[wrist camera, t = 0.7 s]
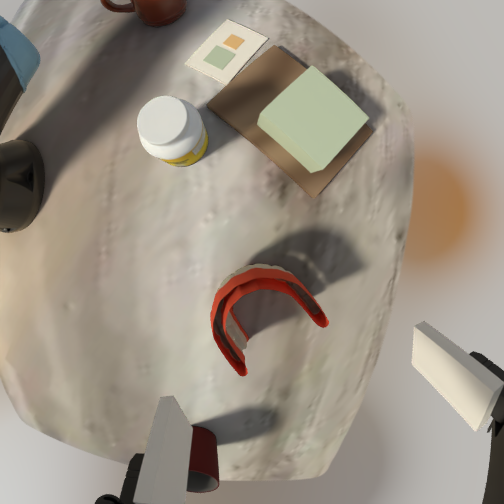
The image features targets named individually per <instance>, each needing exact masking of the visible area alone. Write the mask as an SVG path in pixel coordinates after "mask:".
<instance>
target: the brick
mask: <svg viewBox="0 0 504 504" xmlns="http://www.w3.org/2000/svg"><path fill="white" fill-rule="evenodd" d="M368 119H369V117H368V116H367V115H366V114H365V113H364V112H363V111H362V110H361V109H360V108H359V107H358V106H357V105H356V104H355V103H354V102H353V101H352V100H351V99H350V98H349V97H348V96H347V95H346V94H345V93H344V92H342V91H341V90H340V89H339V88H338V87H337V86H336V85H335V84H334V83H333V82H331V81H330V80H329V79H328V78H327V77H326V76H324V75H323V74H322V73H321V72H320V71H319V70H317V69H316V68H315V67H314V66H311V67H309V68H308V69H307V70H306V71H305V72H304V73H303V74H301V75H300V76H299V77H298V78H297V79H296V80H295V81H294V82H292V83H291V84H290V85H289V86H288V87H287V88H286V89H285V90H284V91H283V92H282V93H281V94H279V95H278V96H277V97H276V98H275V99H274V100H273V101H272V102H271V103H270V104H269V105H268V106H267V107H266V108H265V109H264V110H263V111H262V112H261V113H260V116H259V119H258V122H257V125H258V126H259V127H260V128H261V129H262V130H264V131H265V132H266V133H267V134H268V135H270V136H271V137H272V138H273V139H274V140H275V141H276V142H278V143H279V144H280V145H281V146H282V147H283V148H284V149H285V150H287V151H288V152H289V153H290V154H291V155H292V156H293V157H294V158H295V159H297V160H298V161H299V162H300V163H301V164H302V165H303V166H304V167H305V168H306V169H307V170H308V171H309V172H310V173H313V172H316V171H319V170H323V169H324V168H325V167H326V166H327V165H328V164H329V163H330V161H331V160H332V159H333V158H334V157H335V156H336V155H337V154H338V153H339V151H340V150H341V149H342V148H343V147H344V146H345V145H346V144H347V142H348V141H349V140H350V139H351V138H352V137H353V136H354V135H355V134H356V132H357V131H358V130H359V129H360V128H361V127H362V126H363V125H364V123H365V122H366V121H367V120H368Z"/></svg>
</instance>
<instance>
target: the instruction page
mask: <svg viewBox="0 0 504 504" xmlns="http://www.w3.org/2000/svg"><path fill="white" fill-rule="evenodd" d="M267 40H268V38H267V37H265V36H263V35H261V34H259V33H257V32H255V31H253V30H250V29H248V28H246V27H244V26H242V25H240V24H237V23H235V22H233V21H230V20H228V19H227V20H226V21H225V22H224V23H223V24H222V25H221V26H220V27H219V28H218V29H217V30H216V31H215V32H214V33H213V34H212V35H211V36H210V37H209V38H208V39H207V40H206V41H205V42H204V43H203V44H202V45H201V46H200V47H199V48H198V49H197V50H196V51H195V53H194V54H193V55H192V56H191V57H190V58H189V59H188V60H187V62H186V63H185V65H187V66H189V67H191V68H194V69H196V70H198V71H200V72H202V73H204V74H206V75H208V76H210V77H212V78H214V79H216V80H217V81H219V82H221V83H223V84H225V85H228V84H229V82H230V81H231V80H232V79H233V78H234V76H235V75H236V74H237V73H238V72H239V70H240V69H241V68H242V67H243V66H244V65H245V64H246V62H247V61H248V60H249V59H250V58H251V57H252V56H253V55H254V53H255V52H256V51H257V50H258V49H259V48H260V47H261V46H262V45H263V44H264V43H265V42H266V41H267Z"/></svg>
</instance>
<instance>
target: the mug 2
mask: <svg viewBox="0 0 504 504" xmlns="http://www.w3.org/2000/svg"><path fill="white" fill-rule="evenodd" d="M192 428H193V432H192V441H191V450H190V459H189V469H188V478H187V489H186V491H188V492H195V493H204V492H210V491H213V490H215V489H217V488H218V487H219V467H218V454H217V442H216V437H215V435H214V434H213V433H212V432H211V431H209V430H207V429H205V428H202V427H197V426H192Z"/></svg>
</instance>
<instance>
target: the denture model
mask: <svg viewBox="0 0 504 504" xmlns="http://www.w3.org/2000/svg"><path fill="white" fill-rule="evenodd" d="M259 289H269V290H276V291H280V292H283V293H286V294H289V295H290V296H292V297H293V298H294V299H295V300H296V301H297V302H298V303H299V304H300V305H301V306H302V308H303V309H304V310H305V311H306V312H307V313H308V314H309V316H310V317H311V318H312V320H313V321H314V322H315V323H316V324H317V325H318V326H320V327H323V328H324V327H327V326H328V324H329V321H328V319H327V317H326V316H325V314H324V312H323V311H322V309H321V307H320V306H319V304H318V303H317V302H316V300H315V299H314V297H313V296H312V295H311V294H310V292H309V291H308V290H307V289H306V288H305V286H304V285H303V284H302V283H301V282H300V281H299V280H298V279H297V278H296V277H295V276H294V275H293V274H292V273H291V272H290V271H285V270H284V268H282V267H279V266H276V265H274V266H270V265H268V264H254V265H248V266H245V267H243V268H240V269H238V270H237V271H235V273H233V274H231V275H229V276H228V277H227V278H226V279H225V280H224V281H223V282H222V283H221V286H220V287H219V288H218V290H217V293H216V295H215V299H214V302H213V306H212V311H211V315H210V317H211V327H212V332H213V337H214V340H215V342H216V343H217V345H218V347H219V349H220V350H221V352H222V353H223V355H224V356H225V358H226V359H227V360H228V362H229V363H230V365H231V366H232V367H233V368H234V369H235V371H236V372H237V373H238V374H239V375H240V376H246V375H247V374H248V372H247V368H246V366H245V356H244V355H243V352H242V350H244V349H245V348H246V347H247V342H248V340H249V337H248V335H247V334H246V332H245V331H244V330H243V328H242V326H241V325H240V323H239V322H238V320H237V318H236V316H235V314H234V313H233V305H234V304H235V303H236V302H237V301H238V300H239V299H240V298H241V297H242V296H243V295H246V294H248V293H251V292H253V291H256V290H259ZM226 326H227V327H226Z"/></svg>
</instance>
